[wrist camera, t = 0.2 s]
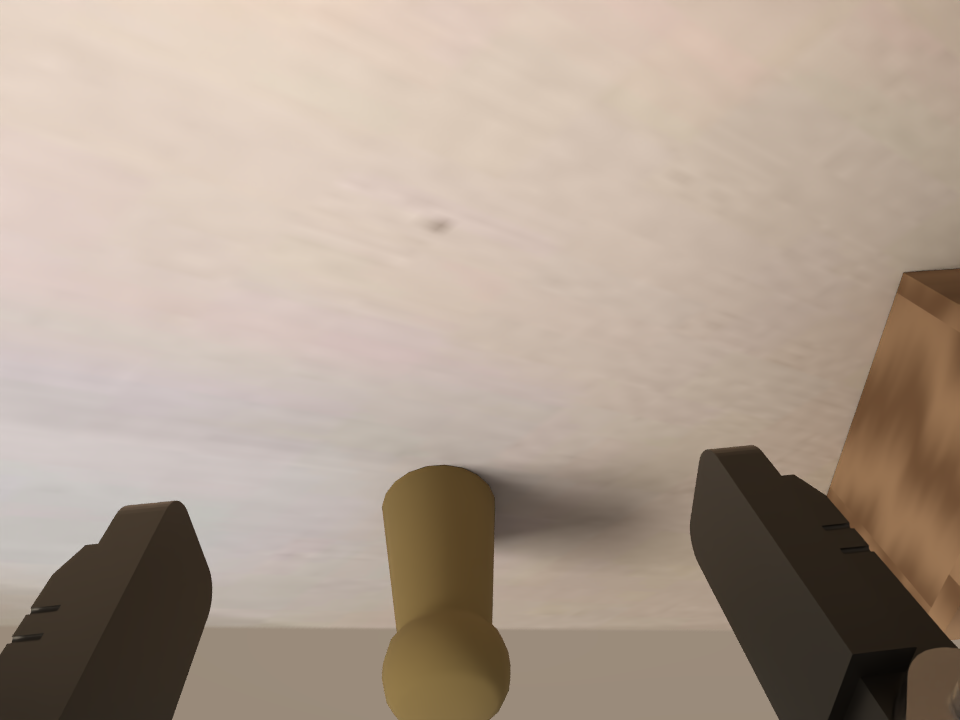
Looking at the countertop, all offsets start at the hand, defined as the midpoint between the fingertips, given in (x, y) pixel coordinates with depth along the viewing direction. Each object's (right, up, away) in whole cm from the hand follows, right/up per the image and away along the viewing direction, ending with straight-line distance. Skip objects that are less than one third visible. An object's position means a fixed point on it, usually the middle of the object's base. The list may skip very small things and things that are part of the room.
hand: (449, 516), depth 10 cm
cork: (-2, -5, +23) cm, 24 cm away
